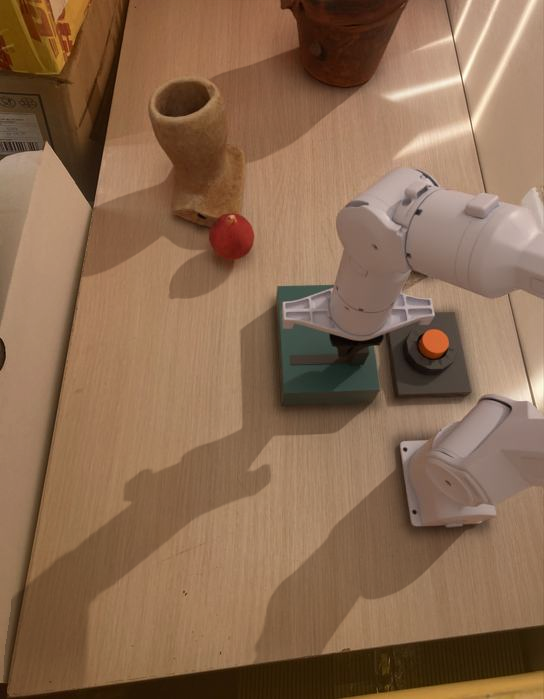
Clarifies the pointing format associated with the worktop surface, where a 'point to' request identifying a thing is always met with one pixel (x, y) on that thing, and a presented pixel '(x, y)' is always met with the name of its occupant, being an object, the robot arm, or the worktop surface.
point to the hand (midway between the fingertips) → (343, 348)
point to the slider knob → (359, 357)
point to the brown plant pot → (344, 36)
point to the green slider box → (319, 362)
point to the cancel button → (433, 344)
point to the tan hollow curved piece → (198, 149)
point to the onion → (231, 236)
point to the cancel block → (428, 361)
